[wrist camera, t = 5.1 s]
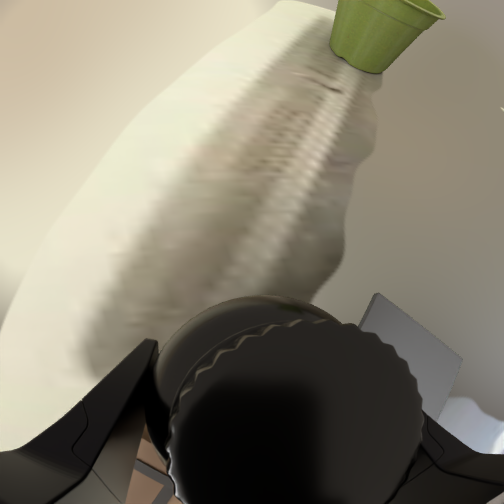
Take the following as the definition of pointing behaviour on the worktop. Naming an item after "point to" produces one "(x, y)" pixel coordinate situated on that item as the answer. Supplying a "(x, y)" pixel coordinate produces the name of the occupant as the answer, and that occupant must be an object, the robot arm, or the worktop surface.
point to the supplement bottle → (282, 408)
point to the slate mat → (415, 351)
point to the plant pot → (379, 30)
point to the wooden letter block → (149, 477)
